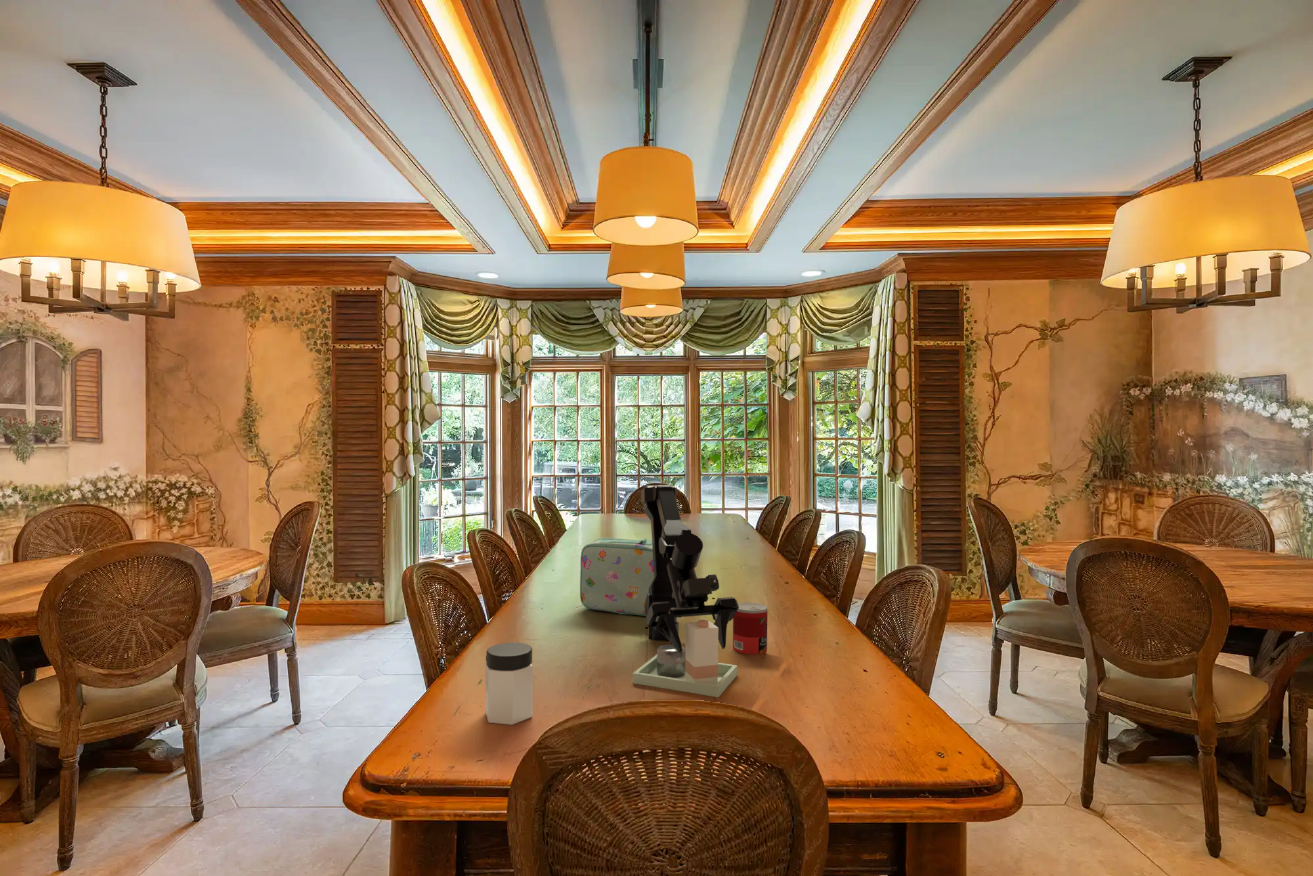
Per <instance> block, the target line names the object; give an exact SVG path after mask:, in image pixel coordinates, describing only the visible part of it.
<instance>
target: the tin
mask: <svg viewBox="0 0 1313 876" xmlns="http://www.w3.org/2000/svg"><path fill="white" fill-rule="evenodd" d="M685 654H686V647H684V646H682V652H681V653H679V652H678V651H677V650H676V648H675V647H674V646H673V645H672V644H664V645H660V646H658V647H657V649H656V655H657V674H658V675H659V676H664V677H670V678H679V677H682V676H684V675H685Z"/></svg>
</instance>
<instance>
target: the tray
mask: <svg viewBox="0 0 1313 876" xmlns="http://www.w3.org/2000/svg"><path fill="white" fill-rule="evenodd" d="M737 676H738V665H736V664H731V663H723V662H718V683H717V684H716V685H715V684H709V683H702V682H696V681H689V680H685V675H684V676H682V677H679V678H670V677H664V676H659V675H658V674H657V654H655V655H654V656H653V657H651V658H650V659H649V660H648V661H646V662H645V663H644V664H643V665H641V666H640V667H639V668H637V669H636V670H635V671H633V672H632V684H634V685H640V686H641V685H642V686H645V687H646V686H647V687H653V688H658V689H666V690H671V691H675V692H676V691H677V692H683V693H688V694H694V695H695V694H696V695H702V696H708V697H715V698H719V697H720V696H721V695H722V694H723V693H724V692H725V690H727V688H728V687H729V686H730V685H731V684H732V682H733V681H734V680H735V679H736V678H737Z"/></svg>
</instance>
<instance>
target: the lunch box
mask: <svg viewBox="0 0 1313 876" xmlns="http://www.w3.org/2000/svg"><path fill="white" fill-rule="evenodd" d="M579 572H580V577H579V596H580V602H581V604H582V606H583V607H585V608H586V609H588V610H595V611H604V612H609V613H610V612H611V613H614V614H619V615H633V616H643V617H644V616H645V617H646V615H645V608H644V605H645V601H646V597H647V594H649V587H650V585H651V583H652V581H653V579H654V565H653V548H652V539H651V540H649V539H647V538H645V537H644V538H642V539H629V538H627V539H626V538H613V537H601V538H600V537H599V538H597V539H595V540H593V541H592V542H590V543H588V544H586V545H584V546H583V547H582V549H581V553H580V570H579Z"/></svg>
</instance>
